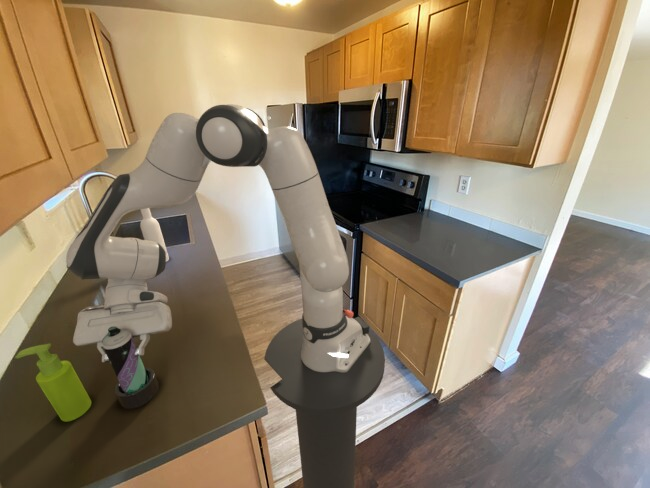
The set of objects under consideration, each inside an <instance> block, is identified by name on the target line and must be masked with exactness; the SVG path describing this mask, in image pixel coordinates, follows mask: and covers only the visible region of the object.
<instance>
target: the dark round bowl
mask: <svg viewBox="0 0 650 488" xmlns="http://www.w3.org/2000/svg"><path fill="white" fill-rule="evenodd" d="M144 368H145V370H146V373H147V375H148V378H149V381H148V383H147V384H146V385H144V386H143V387H142V388H141V389H139V390H137V391H135V392H132V393H128V394H127V393H124V391H123V389H122V387H121V384H120V382H119V381H117V383H116V384H115V386H114V393H115V396H116V398H117V400H118V402H119V404H120V405H121V407H122V408H123V409H126V410H132V409H137V408H140V407H142V406H145V405H146V404H147V403H149V402H150V401H151V400H152V399H153V398H154V397H155V396H156V395H157V393H158V391H159V388H160V384H159V381H158V379H157V376H156V373H155V371H154V369H153V368H150V367H144Z"/></svg>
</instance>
